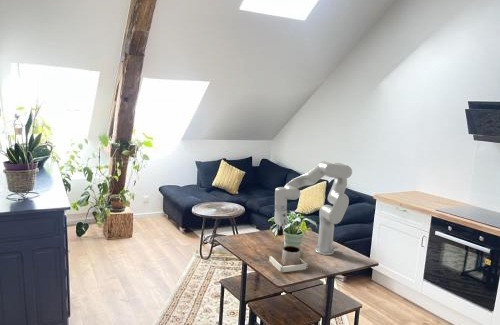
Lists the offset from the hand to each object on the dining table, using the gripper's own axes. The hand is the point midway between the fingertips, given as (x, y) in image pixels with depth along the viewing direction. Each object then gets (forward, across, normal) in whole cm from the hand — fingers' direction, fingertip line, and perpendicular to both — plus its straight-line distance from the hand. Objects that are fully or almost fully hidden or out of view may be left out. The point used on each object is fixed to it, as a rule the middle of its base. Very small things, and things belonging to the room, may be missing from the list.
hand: (280, 235), depth 233 cm
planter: (+14, -14, 0) cm, 20 cm away
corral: (+13, -15, +2) cm, 20 cm away
